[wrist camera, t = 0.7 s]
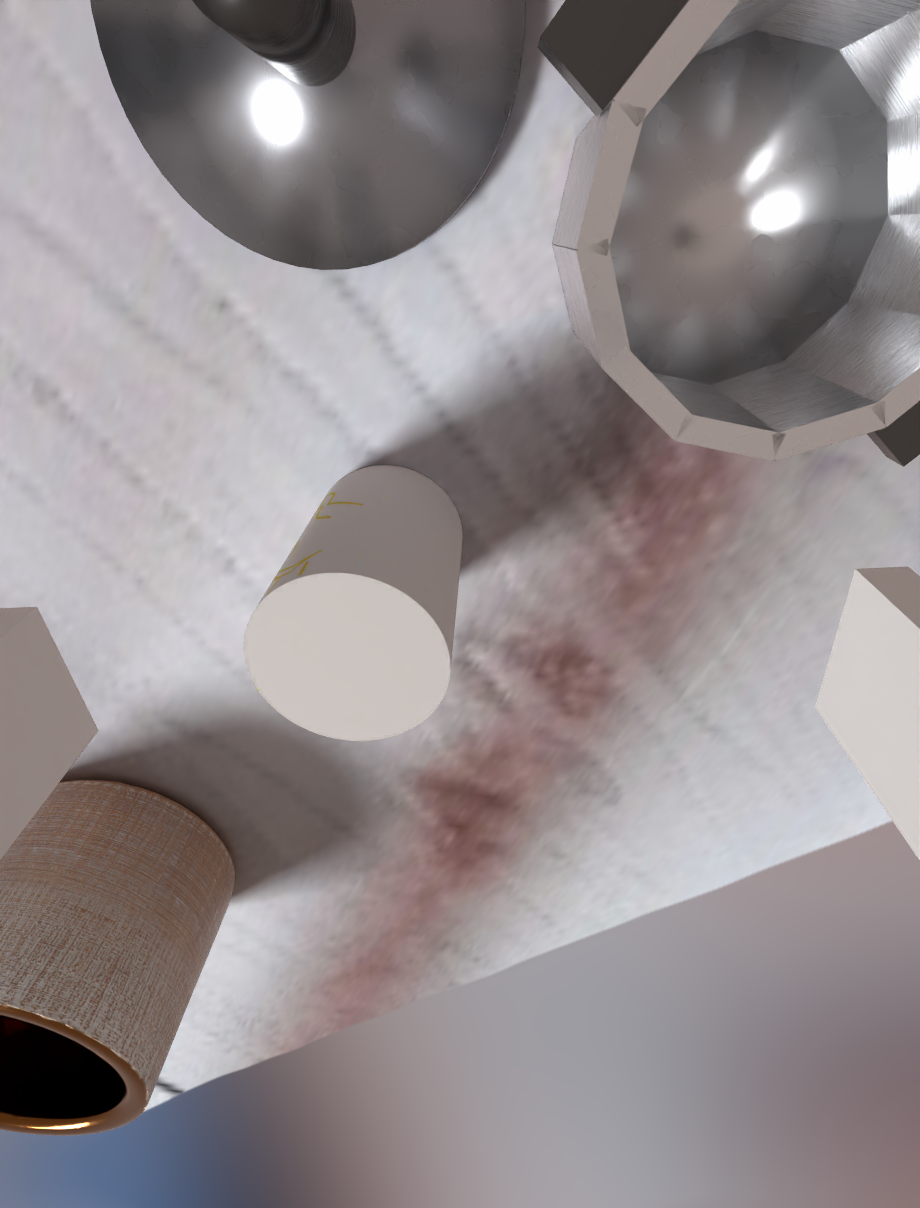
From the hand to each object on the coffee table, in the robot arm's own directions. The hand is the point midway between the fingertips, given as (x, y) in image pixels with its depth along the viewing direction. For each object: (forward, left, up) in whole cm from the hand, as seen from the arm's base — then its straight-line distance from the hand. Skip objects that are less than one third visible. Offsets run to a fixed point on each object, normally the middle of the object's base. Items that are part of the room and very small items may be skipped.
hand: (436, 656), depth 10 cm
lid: (-13, +6, -23) cm, 27 cm away
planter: (+3, -45, -23) cm, 51 cm away
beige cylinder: (+2, -9, -23) cm, 25 cm away
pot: (+4, +12, -23) cm, 26 cm away
